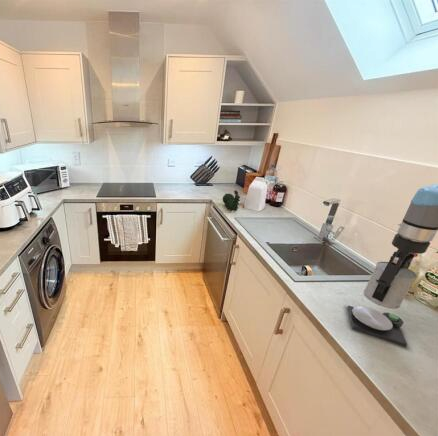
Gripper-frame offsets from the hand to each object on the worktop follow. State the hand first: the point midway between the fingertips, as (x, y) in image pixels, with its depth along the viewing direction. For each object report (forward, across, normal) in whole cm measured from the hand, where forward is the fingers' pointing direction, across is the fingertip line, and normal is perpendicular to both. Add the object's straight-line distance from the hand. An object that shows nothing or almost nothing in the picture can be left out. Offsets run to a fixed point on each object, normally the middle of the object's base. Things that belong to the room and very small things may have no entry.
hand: (383, 294), depth 82 cm
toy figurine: (+14, -46, -111) cm, 121 cm away
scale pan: (+11, 0, 0) cm, 11 cm away
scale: (+14, -1, +1) cm, 14 cm away
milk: (+14, -65, -102) cm, 121 cm away
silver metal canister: (+2, 0, 0) cm, 2 cm away
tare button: (+12, -7, +4) cm, 14 cm away
